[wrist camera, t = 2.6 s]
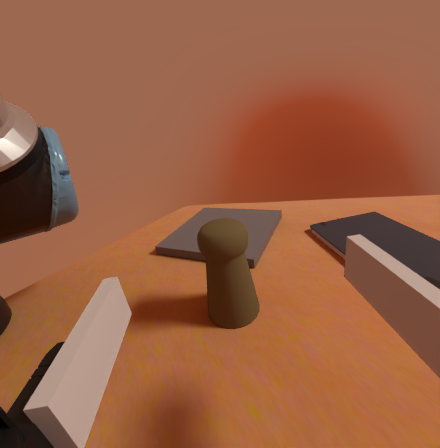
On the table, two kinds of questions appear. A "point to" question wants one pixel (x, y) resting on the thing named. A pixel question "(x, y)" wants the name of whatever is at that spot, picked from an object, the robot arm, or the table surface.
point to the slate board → (252, 219)
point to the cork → (228, 273)
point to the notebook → (384, 240)
